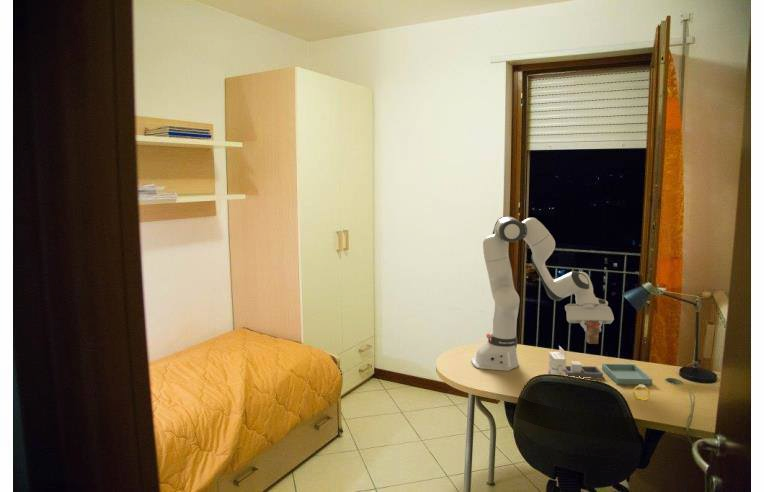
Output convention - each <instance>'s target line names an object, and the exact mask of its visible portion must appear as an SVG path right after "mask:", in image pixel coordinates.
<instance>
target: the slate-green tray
mask: <svg viewBox="0 0 764 492" xmlns="http://www.w3.org/2000/svg"><path fill="white" fill-rule="evenodd" d="M601 365H602V367H601V370H602V372H604V373H605V375H606V376H607V377H608V378H610V380H612V382H613V381H614V382H615V383H616V384H615V385H616V386H632V387H633V386H635V387H636V386H638V385H639V384H642V385H645V386H646V387H652V385H653V378H651V377H650V376H649V375H648V374H646V372H644V371H643V370H642V369H641V368H640V367H639V366H638V365H636V364H634V363H602V364H601ZM614 382H613V383H614Z"/></svg>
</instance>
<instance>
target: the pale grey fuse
mask: <svg viewBox="0 0 764 492" xmlns="http://www.w3.org/2000/svg"><path fill="white" fill-rule="evenodd" d="M570 366H571V371H570V372H580V373H581V370H582V366H583V364H582V363H581V361H577V360H576V361H575V360H570Z"/></svg>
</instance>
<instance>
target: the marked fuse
mask: <svg viewBox="0 0 764 492" xmlns="http://www.w3.org/2000/svg"><path fill="white" fill-rule="evenodd" d="M586 327H589V331H588V332H587V331H585V341H586V342H587V344H591V345H592V344H594V345H598V344H599V337H600V336H599V335H600V332H599V324H598V323H597V322H587V323H586Z"/></svg>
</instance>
